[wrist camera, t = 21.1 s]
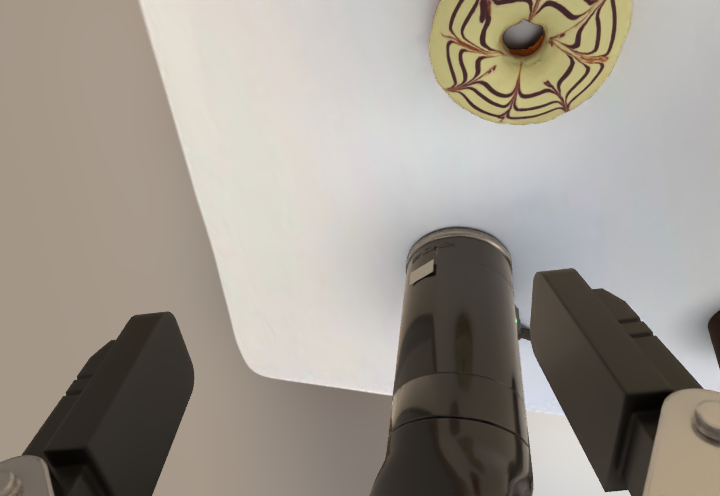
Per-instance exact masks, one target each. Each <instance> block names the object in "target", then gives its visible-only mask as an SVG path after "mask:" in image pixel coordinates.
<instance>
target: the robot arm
mask: <svg viewBox="0 0 720 496" xmlns="http://www.w3.org/2000/svg"><path fill="white" fill-rule="evenodd" d="M521 338H524V339H527V340H529V341H531V344H532V348H533V352H534V354H535V357H536V359H537V361H538V363H539V365H540V367H541V369H542V371H543V373H544V374H545V376H546V378H547V380H548V382H549V384H550V386H551V388H552V390H553V392H554V394H555V396H556V398H557V400H558V402H559V404H560V405H561V407H562V409H563V411H564V413H565V415H566V417H567V419H568V421H569V423H570V425H571V427H572V429H573V430H574V433H575V434H576V436H577V438H578V440H579V442H580V444H581V446H582V448H583V450H584V452H585V454H586V456H587V458H588V460H589V462H590V463H591V465H592V467H593V469H594V471H595V473H596V475H597V477H598V479H599V481H600V483H601V485H602V487H603V489H604V491H605V492H611V491H622V490H629V492H630V494H631V496H720V392H716V391H712V390H706V389H703V388H702V386H701V385H700V384H699V383H698V382H697V381H696V380H695V379H694V378H693V376H692V375H691V374H690V373H689V372H688V371H687V370H686V369H685V368H684V366H683V365H682V364H681V363H680V362H679V361H678V360H677V359H676V358H675V356H674V355H673V354H672V353H671V352H670V351H669V350H668V349H667V348H666V346H665V345H664V344H663V343H662V342H661V341H660V340H659V339H658V338H657V336H653V332H652V331H651V330H650V329H649V328H648V326H647V325H646V324H645V323H644V322H641V321H640V318H639V316H638V315H637V314H636V313H635V312H634V311H633V310H632V309H631V308H630V306H629V305H628V304H627V303H626V302H625V301H623V300H622V299H620V298H618V297H616V296H615V295H613V294H611V293H609V292H608V291H606V290H604V289H603V288H602V289H591V288H590V286H589V285H588V284H587V283H586V282H585V280H584V279H583V278H582V277H581V276H580V274H579V273H578V272H577V271H576V270H575V269H573V268H570V269H560V270H551V271H542V272H537V273H536V274H535V276H534V280H533V293H532V307H531V321H530V331H529V330H526V329H523V328H520V320H519V311H518V308H517V307H516V306H515V304H514V294H513V285H512V264H511V258H510V255H509V253H508V251H507V250H506V248H505V247H504V246H503V245H502V244H501V243H500V242H499V241H498V240H497V239H495V238H494V237H492V236H490V235H488V234H486V233H483V232H480V231H477V230H472V229H464V228H453V229H445V230H440V231H437V232H434V233H431V234H429V235H427V236H425V237H424V238H422V239H421V240H419V241H418V242H417V243H416V244H415V245H414V246H413V247H412V249H411V250H410V252H409V255H408V258H407V264H406V283H405V291H404V300H403V309H402V318H401V327H400V336H399V345H398V354H397V363H396V372H395V381H394V390H393V399H392V410H391V419H390V428H389V437H388V446H387V453H386V458H385V461H384V463H383V465H382V467H381V469H380V471H379V473H378V475H377V477H376V479H375V482H374V484H373V487H372V489H371V493H370V496H532V494H533V473H532V463H531V454H530V445H529V437H528V427H527V417H526V409H525V400H524V391H523V381H522V372H521V362H520V353H519V343H518V340H520V339H521ZM193 386H194V369H193V364H192V361H191V359H190V356H189V353H188V351H187V348H186V345H185V343H184V340H183V337H182V334H181V332H180V329H179V326H178V324H177V321H176V319H175V317H174V315H173V314H172V313H171V312H159V313H150V314H142V315H135V316H133V317H131V319H130V320H129V321H128V323H127V324H126V326H125V328H124V329H123V330H122V332H121V334H120V335H119V336H118V338H117V339H116V340H111V341H110V342H108V343H107V344H106V345H105V346H104V347H102V348H101V349H100V350H99V351H98V352H97V353H95V354H94V355H93V356H92V357H91V358H90V359H89V360H88V362H87V363H86V364H85V366H84V367H83V369H82V370H81V372H80V373H79V374H78V376H77V380H74V381H73V383H72V384H71V386H70V387H69V389H68V390H67V392H66V396H63V397H62V399H61V400H60V401H59V403H58V404H57V406H56V407H55V408H54V410H53V411H52V413H51V414H50V416H49V417H48V419H47V420H46V421H45V423H44V424H43V426H42V427H41V428H40V430H39V431H38V433H37V434H36V435H35V437H34V438H33V440H32V441H31V443H30V444H29V446H28V447H27V448H26V450H25V451H24V453H23V454H22V456H18V457H13V458H10V459H7V460H5V461H2V462H0V496H152V494H153V492H154V489H155V487H156V484H157V481H158V479H159V476H160V474H161V471H162V468H163V465H164V463H165V461H166V458H167V456H168V453H169V450H170V448H171V445H172V443H173V440H174V438H175V435H176V432H177V430H178V427H179V425H180V422H181V420H182V417H183V414H184V412H185V409H186V407H187V404H188V401H189V399H190V396H191V394H192V391H193Z"/></svg>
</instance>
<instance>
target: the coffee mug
mask: <svg viewBox="0 0 720 496" xmlns="http://www.w3.org/2000/svg"><path fill="white" fill-rule="evenodd" d="M708 330H709V333H710V337H711V340H712V344H713V347H714V351H715V354H716V358H717V361H718V364H719V368H720V311H718V312H717V313H716V314H715V315H714V316H713V317H712V318H711V319H710V321H709V323H708Z"/></svg>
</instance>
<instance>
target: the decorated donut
mask: <svg viewBox="0 0 720 496" xmlns="http://www.w3.org/2000/svg"><path fill="white" fill-rule="evenodd" d="M631 15H632V1H631V0H440V2H439V4H438V6H437V9H436V12H435V15H434V19H433V25H432V30H431V35H430V40H429V55H430V61H431V64H432V67H433V72H434V74H435V78H436V80H437V82H438V84H439V85H440V86H441V87H442V89H443V90H444V91H445V92H446V93H447V94H448V95H449V97H450V98H451V99H452V100H453V101H454V102H455V103H457V104H458V105H459V106H461V107H462V108H464V109H466V110H468V111H469V112H471V113H472V114H474V115H477V116H479V117H480V118H482V119H486V120H489V121H492V122H496V123H502V124H513V125H525V124H538V123H542V122H546V121H549V120H552V119H555V118H556V117H557V116H559V115H562V114H564V113H566V112H568V111H570V110H572V109H574V108H576V107H577V106H579V105H580V104H581V103H583V102H584V101H585V100H587V99H589V98H590V97H591V96H592V95H593V94H594V93H595V92H596V91H597V90H598V89H599V87H600V86H601V85H602V84H603V83H604V81H605V80H606V79H607V77H608V76H609V75H610V73H611V71H612V69H613V67H614V64H615V63H616V60H617V58H618V56H619V53H620V50H621V47H622V45H623V43H624V40H625V38H626V36H627V34H628V31H629V27H630V24H631ZM522 20H527V21H529V22H531V23H533V24H536V25H541V26H542V27H543V32H544V33H543V35H542V36H541V38H540V39H539V40H538V42H537V43H535V45H534V46H531V47H530V46H529V48H528V49H526V48H525V49H521V50H519V49H517V50H516V49H515V50H513V49H509V48H508V47H507V46H506V45H505V44H504V42H503V39H502V36H503V33H504V32H505V31H506V30H507V29H508V28H509V27H511V26H513V25H516V24H518V23H520V22H521V21H522Z"/></svg>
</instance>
